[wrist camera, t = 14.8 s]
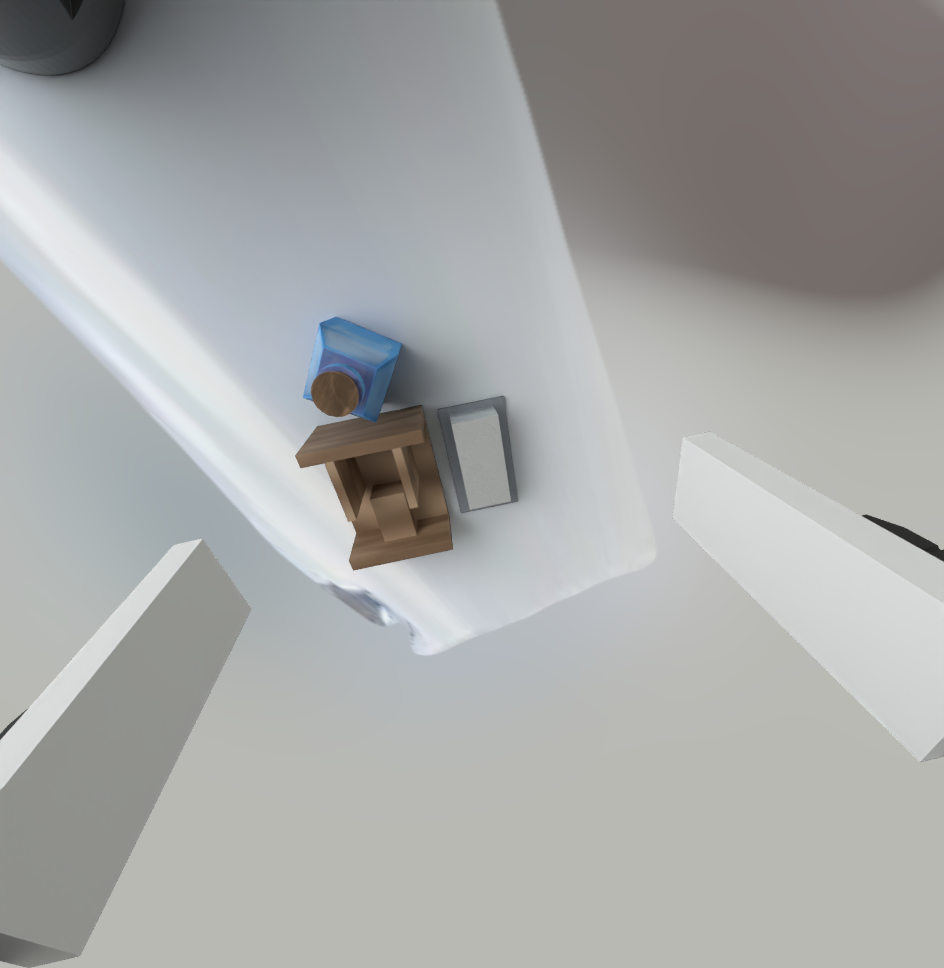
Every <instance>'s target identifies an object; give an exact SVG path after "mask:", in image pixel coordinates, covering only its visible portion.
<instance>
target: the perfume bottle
mask: <svg viewBox="0 0 944 968" xmlns="http://www.w3.org/2000/svg"><path fill="white" fill-rule="evenodd" d="M401 345H402V344H401V343H399V342H397V341H394V340H392V339H389V338H387V337H384V336H382V335H380V334H377V333H375V332H372V331H370V330H367V329H365V328H363V327H360V326H358V325H355V324H353V323H350V322H348V321H345V320H343V319H341V318H338V317H334V318H332V319H329V320H327V321H324V322H321V323H320V324H319V328H318V333H317V337H316V342H315V346H314V351H313V355H312V360H311V364H310V368H309V373H308V377H307V382H306V386H305V391H304V395H303V398H306V399H308V400H311V401H313V402H314V403H315V405H316V406H317V408H319V409H320V410H321V411H322V412H323V413H325V414H327V415H329V416H334V417H342V416H346V415H348V414H352V415H355V416H358V417H361V418H364V419H367V420H369V421H372V422H375V423H376V422H377V419H378V416H379V413H380V411H381V408H382V405H383V402H384V399H385V396H386V392H387V389H388V386H389V383H390V380H391V377H392V374H393V370H394V367H395V364H396V361H397V358H398V355H399V352H400V348H401Z"/></svg>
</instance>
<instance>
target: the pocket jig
mask: <svg viewBox="0 0 944 968" xmlns="http://www.w3.org/2000/svg"><path fill="white" fill-rule="evenodd" d="M295 457H296V459H297V461H298V463H299V466H300V468H304V467H309V466H314V465H319V464H323V463H324V464H325V466H326V469H327V471H328V474H329V476H330V478H331V481H332V483H333V486H334V488H335V491H336V493H337V495H338V498H339V500H340V503H341V505H342V508H343V510H344V512H345V515H346V517H347V520H348V522H349V521H352V523H353V526H354V528H355V531H356V537H355V540H354V544H353V548H352V551H351V555H350V559H349V562H350V564H351V567H352V569H353V570H358V569H363V568H367V567H372V566H377V565H381V564H386V563H391V562H396V561H400V560H405V559H410V558H415V557H419V556H424V555H429V554H434V553H438V552H443V551H448V550H453V544H452V535H451V525H450V517H449V513H448V509H447V505H446V501H445V497H444V493H443V489H442V485H441V481H440V477H439V473H438V469H437V465H436V461H435V457H434V453H433V449H432V445H431V441H430V437H429V433H428V429H427V425H426V421H425V417H424V413H423V408H422V405H419V406H414V407H409V408H404V409H400V410H395V411H390V412H385V413H380V414H379V416H378V419H377V422H376V423H375V422H372V421H369V420H367V419H364V418H356V419H351V420H346V421H341V422H336V423H332V424H327V425H322V426H317V427H316V429H315V430H314V431H313V433H312V434H311V435H310V437H309V438H308V439H307V441H306V442H305V443H304V445H303V446H302V447H301V449H300V450H299V451H298V453H297V454H296V455H295Z"/></svg>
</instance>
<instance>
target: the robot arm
mask: <svg viewBox="0 0 944 968" xmlns="http://www.w3.org/2000/svg"><path fill="white" fill-rule="evenodd" d="M123 5H124V0H0V65H3V66H6V67H8V68H11V69H15V70H18V71H22V72H26V73H32V74H39V75H58V74H65V73H69V72H73V71H75V70H78V69H80V68H82V67H84V66H86V65H88V64H89V63H91V62H92V61H94V60H95V59H96V58H97V57H98V56H99V55H100V54H101V53H102V52H103V51H104V50H105V49H106V47H107V46H108V44H109V43H110V41H111V39H112V38H113V36H114V34H115V31H116V29H117V27H118V24H119V21H120V18H121V14H122V10H123ZM673 520H674V521H676V522H677V523H678V524H679V525H680V526H681V527H682V528H683V529H684V530H685V531H686V532H687V533H688V534H689V535H690V536H691V537H692V538H693V539H694V540H695V541H696V542H697V543H698V544H699V545H700V546H701V547H702V548H703V549H704V550H705V551H706V552H707V553H708V554H709V555H710V556H711V557H712V558H713V559H714V560H715V561H716V562H717V563H718V564H719V565H720V566H721V567H722V568H723V569H724V570H725V571H726V572H727V573H728V574H729V575H730V576H731V577H732V578H733V579H734V580H736V582H738V584H739V585H741V587H743V588H744V589H745V590H746V591H747V592H748V593H749V594H750V595H751V596H752V597H753V598H754V599H755V600H756V601H757V602H758V603H759V604H760V605H761V606H762V607H763V608H764V609H765V610H766V611H767V612H768V613H769V614H770V615H771V616H772V617H773V618H774V619H775V620H776V621H777V622H778V623H779V624H780V625H781V626H782V627H783V628H784V629H785V630H786V631H787V632H788V633H789V634H790V635H791V636H792V637H793V638H795V640H796V641H798V643H799V644H800V645H801V646H802V647H804V649H806V650H807V651H808V652H809V653H810V654H811V655H812V656H813V657H814V658H815V659H816V660H817V661H818V662H819V663H820V664H821V665H822V666H823V667H824V668H825V669H826V670H827V671H828V672H829V673H830V674H831V675H832V676H833V677H834V678H835V679H836V680H837V681H838V682H839V683H840V684H841V685H842V686H843V687H844V688H845V689H846V690H847V691H848V692H849V693H850V694H851V695H852V696H853V697H854V698H855V699H856V700H857V701H858V702H859V703H860V704H861V705H862V706H863V707H865V709H866V710H868V712H869V713H870V714H871V715H872V716H873V717H875V718H876V719H877V720H878V721H879V722H880V723H881V724H882V725H883V726H884V727H885V728H886V729H887V730H888V731H889V732H890V733H891V734H892V735H893V736H894V737H895V738H896V739H897V740H898V741H899V742H900V743H901V744H902V745H903V746H904V747H905V748H906V749H907V750H908V751H909V752H910V753H911V754H912V755H913V756H914V757H915V758H916V759H917V760H918V761H919V762H923V761H927V760H932V759H936V758H940V757H944V550H940V549H939V548H938V545H936V544H934V543H932V542H930V541H929V540H926V539H925V538H923V537H921V536H919V535H917V534H915V533H913V532H912V531H910V530H908V529H906V528H904V527H901V526H898V525H895V524H892V523H889V522H886V521H884V520H881V519H878V518H875V517H872V516H869V515H862V516H861V515H859V514H857V513H855V512H853V511H852V510H850V509H848V508H846V507H844V506H843V505H841V504H839V503H837V502H836V501H834V500H832V499H830V498H828V497H826V496H825V495H823V494H821V493H819V492H817V491H815V490H814V489H812V488H810V487H809V486H807V485H805V484H803V483H801V482H800V481H798V480H796V479H794V478H792V477H791V476H789V475H787V474H785V473H783V472H782V471H780V470H778V469H776V468H774V467H773V466H771V465H769V464H767V463H766V462H764V461H762V460H760V459H758V458H757V457H755V456H753V455H751V454H749V453H747V452H746V451H744V450H742V449H740V448H739V447H737V446H735V445H733V444H732V443H730V442H728V441H726V440H724V439H723V438H721V437H719V436H717V435H715V434H714V433H712V432H706V433H701V434H697V435H691V436H687V437H683V440H682V448H681V455H680V463H679V472H678V479H677V487H676V494H675V503H674V511H673ZM250 611H251V608H250V606H249V605H248V603H247V602H246V600H245V599H244V598H243V596H242V595H241V593H240V592H239V590H238V589H237V587H236V586H235V584H234V583H233V582H232V580H231V579H230V577H229V576H228V574H227V573H226V571H225V570H224V569H223V567H222V566H221V564H220V563H219V561H218V560H217V558H216V557H215V556H214V554H213V553H212V551H211V550H210V548H209V547H208V546H207V544H206V543H205V541H204V540H203V539H200V540H195V541H190V542H185V543H181V544H176V545H174V546H173V547H172V548H171V549H170V550H169V551H168V552H167V553H166V555H165V556H164V557H163V558H162V559H161V560H160V561H159V562H158V564H157V565H156V566H155V567H154V568H153V569H152V570H151V571H150V573H149V574H148V575H147V576H146V577H145V578H144V579H143V580H142V582H141V583H140V584H139V585H138V586H137V587H136V588H135V589H134V591H133V592H132V593H131V594H130V595H129V596H128V598H126V599H125V601H124V602H123V603H122V604H121V605H120V606H119V607H118V608H117V610H116V611H115V612H114V613H113V614H112V615H111V616H110V617H109V619H108V620H107V621H106V622H105V623H104V624H103V625H102V626H101V628H100V629H99V630H98V631H97V632H96V633H95V634H94V635H93V637H92V638H91V639H90V640H89V641H88V642H87V643H86V644H85V646H84V647H83V648H82V649H81V650H80V651H79V652H78V653H77V655H76V656H75V657H74V658H73V659H72V660H71V661H70V662H69V663H68V665H67V666H66V667H65V668H64V669H63V670H62V671H61V672H60V674H59V675H58V676H57V677H56V678H55V679H54V680H53V681H52V683H51V684H50V685H49V686H48V687H47V688H46V690H44V692H43V693H42V694H41V695H40V696H39V697H38V698H37V699H36V701H35V702H34V703H33V704H32V705H31V706H30V707H29V708H28V709H27V710H26V711H25V712H23V713H22V714H21V715H20V716H18V717H17V718H16V719H15V720H14V721H13V722H11V723H10V724H9V725H8V726H7V727H6V728H5V729H4V730H3V732H2V733H1V734H0V961H3V962H7V963H11V964H15V965H19V966H23V967H27V968H30V967H35V966H39V965H43V964H48V963H52V962H57V961H61V960H66V959H70V958H74V957H78V956H80V955H81V953H82V951H83V949H84V947H85V945H86V943H87V941H88V939H89V937H90V935H91V933H92V931H93V929H94V927H95V925H96V923H97V921H98V919H99V917H100V915H101V913H102V911H103V909H104V907H105V905H106V903H107V900H108V899H109V897H110V895H111V892H112V891H113V889H114V887H115V884H116V882H117V881H118V878H119V876H120V874H121V872H122V870H123V868H124V866H125V864H126V862H127V860H128V858H129V856H130V854H131V852H132V850H133V848H134V846H135V844H136V842H137V840H138V838H139V836H140V834H141V832H142V830H143V828H144V826H145V824H146V822H147V820H148V818H149V816H150V814H151V812H152V810H153V808H154V806H155V804H156V802H157V800H158V797H159V796H160V793H161V791H162V789H163V787H164V785H165V783H166V781H167V779H168V777H169V775H170V773H171V771H172V769H173V767H174V765H175V763H176V761H177V759H178V757H179V755H180V753H181V751H182V749H183V747H184V745H185V743H186V741H187V739H188V737H189V735H190V733H191V731H192V729H193V727H194V725H195V723H196V720H197V719H198V717H199V714H200V713H201V710H202V708H203V706H204V704H205V702H206V700H207V698H208V696H209V694H210V692H211V690H212V688H213V686H214V684H215V682H216V680H217V678H218V676H219V674H220V672H221V670H222V668H223V666H224V664H225V662H226V660H227V658H228V656H229V654H230V652H231V650H232V648H233V646H234V644H235V642H236V640H237V638H238V636H239V634H240V632H241V629H242V628H243V625H244V623H245V621H246V619H247V617H248V615H249V613H250Z"/></svg>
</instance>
